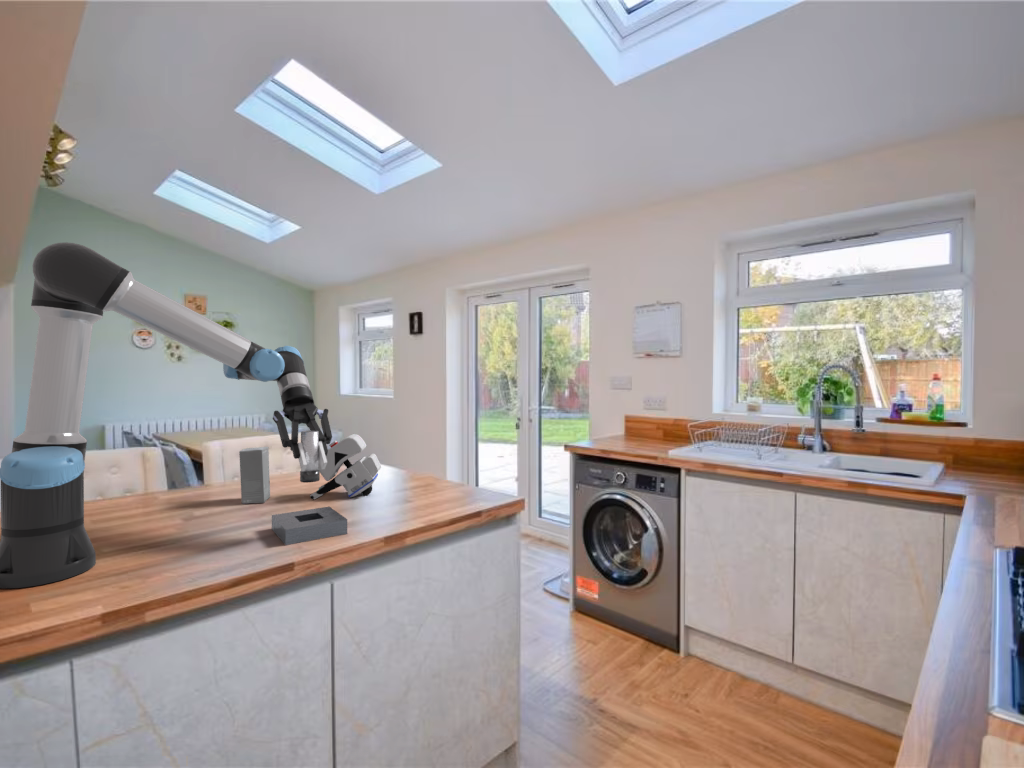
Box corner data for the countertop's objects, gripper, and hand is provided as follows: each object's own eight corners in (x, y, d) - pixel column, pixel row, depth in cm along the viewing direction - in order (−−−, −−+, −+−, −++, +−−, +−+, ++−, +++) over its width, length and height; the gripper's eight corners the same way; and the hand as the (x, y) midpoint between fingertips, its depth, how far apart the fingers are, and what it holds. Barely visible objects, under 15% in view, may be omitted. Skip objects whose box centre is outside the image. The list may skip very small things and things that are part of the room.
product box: (264, 503, 148) (264, 449, 148) (237, 504, 146) (238, 450, 146) (271, 496, 156) (271, 445, 156) (246, 497, 155) (246, 446, 154)
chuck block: (285, 545, 113) (285, 529, 113) (271, 529, 125) (271, 515, 125) (347, 533, 122) (347, 519, 122) (329, 519, 133) (329, 506, 133)
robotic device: (337, 514, 164) (300, 464, 162) (392, 476, 166) (356, 426, 164) (329, 523, 154) (290, 470, 152) (388, 483, 156) (350, 430, 154)
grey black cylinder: (302, 483, 120) (302, 433, 120) (298, 479, 124) (297, 431, 123) (321, 481, 123) (321, 431, 122) (316, 477, 126) (316, 430, 126)
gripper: (326, 402, 140) (346, 471, 127) (258, 404, 130) (273, 480, 117) (332, 384, 136) (353, 454, 123) (262, 384, 125) (278, 461, 113)
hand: (314, 466), depth 120 cm, fingers closed on grey black cylinder, 4 cm apart
